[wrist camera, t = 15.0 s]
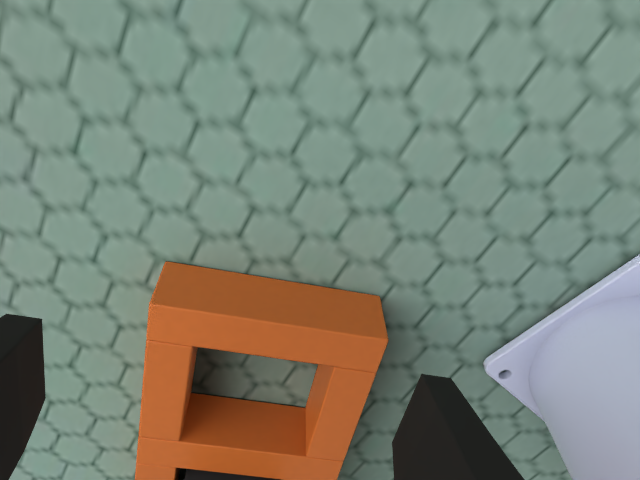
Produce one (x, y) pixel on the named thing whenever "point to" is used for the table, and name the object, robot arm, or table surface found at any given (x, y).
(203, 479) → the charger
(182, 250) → the table surface
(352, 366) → the orange two-hole brick
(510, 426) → the table surface
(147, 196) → the table surface
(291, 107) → the table surface
